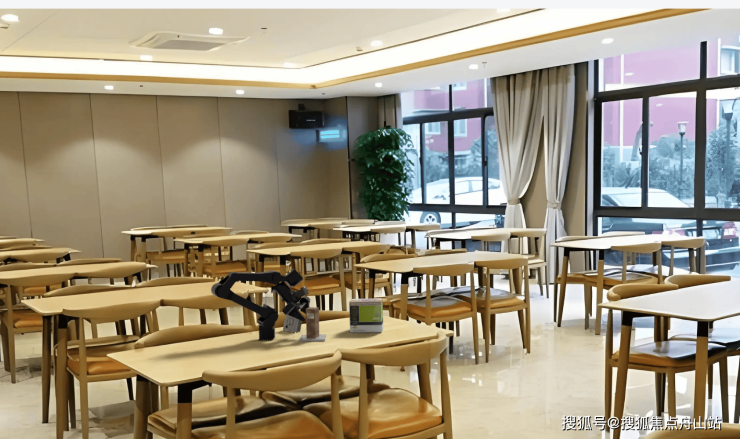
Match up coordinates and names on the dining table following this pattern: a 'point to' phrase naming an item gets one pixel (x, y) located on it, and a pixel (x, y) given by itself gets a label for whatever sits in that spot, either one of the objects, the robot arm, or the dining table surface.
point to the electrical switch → (292, 324)
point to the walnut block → (312, 322)
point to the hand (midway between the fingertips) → (308, 319)
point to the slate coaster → (320, 338)
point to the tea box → (366, 315)
